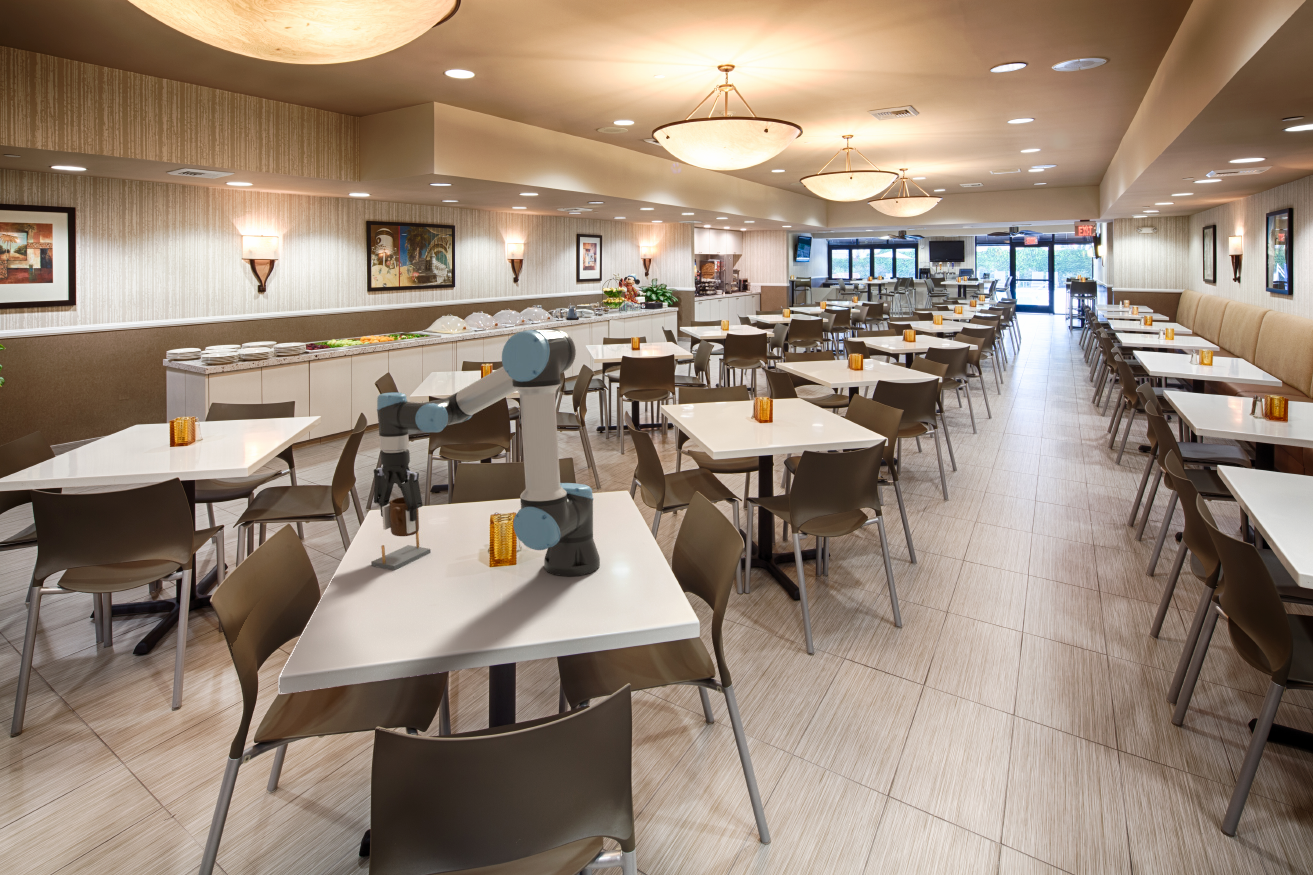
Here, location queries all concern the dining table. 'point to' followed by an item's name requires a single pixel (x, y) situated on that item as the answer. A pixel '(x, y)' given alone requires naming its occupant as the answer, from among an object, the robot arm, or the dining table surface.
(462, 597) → the dining table surface
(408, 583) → the dining table surface
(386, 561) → the grey pegged flat base
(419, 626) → the dining table surface
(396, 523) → the mug
